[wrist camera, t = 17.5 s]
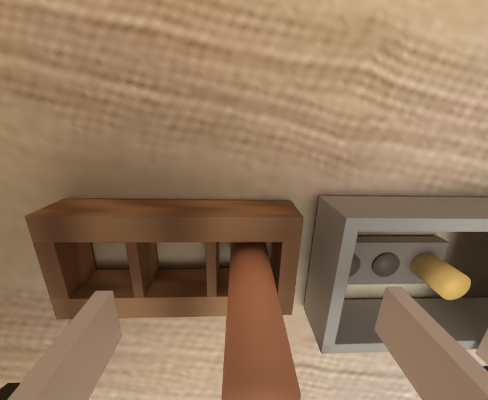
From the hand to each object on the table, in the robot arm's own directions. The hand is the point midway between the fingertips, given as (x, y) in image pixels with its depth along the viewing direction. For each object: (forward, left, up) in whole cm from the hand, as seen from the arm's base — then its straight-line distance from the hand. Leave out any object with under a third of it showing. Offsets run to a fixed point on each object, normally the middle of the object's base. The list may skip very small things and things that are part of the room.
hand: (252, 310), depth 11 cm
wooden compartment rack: (-5, 0, -6) cm, 8 cm away
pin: (0, 0, -6) cm, 6 cm away
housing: (+16, -1, -6) cm, 18 cm away
